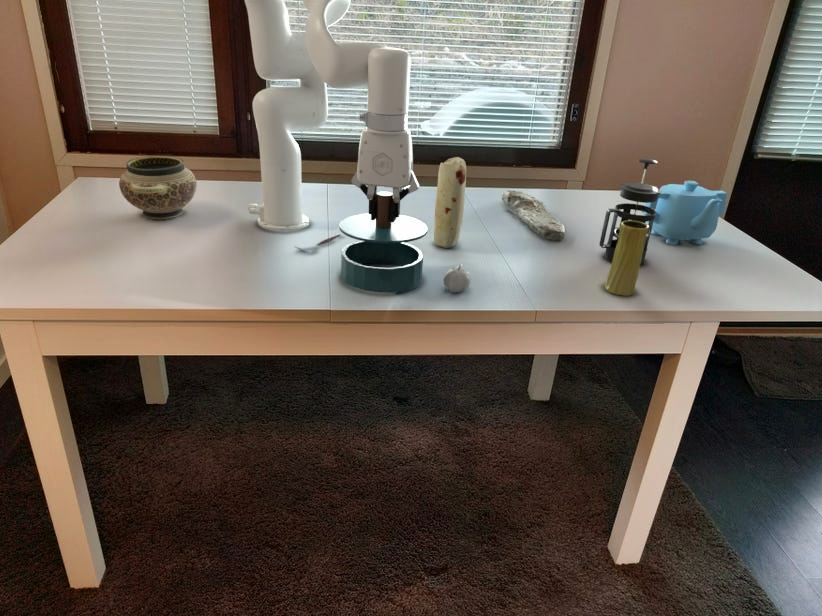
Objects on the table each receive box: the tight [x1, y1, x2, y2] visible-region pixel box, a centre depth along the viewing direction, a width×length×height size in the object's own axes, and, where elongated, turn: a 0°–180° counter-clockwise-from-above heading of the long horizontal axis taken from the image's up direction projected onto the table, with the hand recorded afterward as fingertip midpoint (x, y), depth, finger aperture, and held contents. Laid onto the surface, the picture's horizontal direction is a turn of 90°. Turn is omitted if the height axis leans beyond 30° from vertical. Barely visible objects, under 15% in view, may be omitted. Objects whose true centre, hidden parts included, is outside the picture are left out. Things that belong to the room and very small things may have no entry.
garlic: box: [443, 263, 471, 294], centre depth 130 cm, size 6×5×5 cm
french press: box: [598, 158, 662, 267], centre depth 146 cm, size 12×9×23 cm
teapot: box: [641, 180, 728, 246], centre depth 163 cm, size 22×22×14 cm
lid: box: [338, 191, 428, 243], centre depth 128 cm, size 18×18×8 cm
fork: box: [293, 234, 341, 253], centre depth 149 cm, size 3×16×2 cm, turn 149°
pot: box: [340, 240, 424, 295], centre depth 134 cm, size 17×17×6 cm
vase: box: [604, 220, 649, 297], centre depth 132 cm, size 6×6×14 cm
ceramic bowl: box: [118, 155, 198, 220], centre depth 160 cm, size 24×18×15 cm
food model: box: [433, 156, 467, 249], centre depth 150 cm, size 10×7×20 cm
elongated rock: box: [501, 189, 566, 241], centre depth 174 cm, size 35×5×10 cm
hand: (383, 218), depth 129 cm, fingers closed on lid, 3 cm apart
